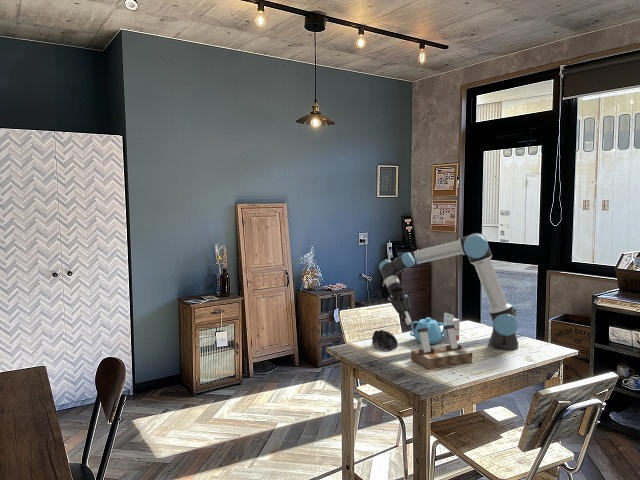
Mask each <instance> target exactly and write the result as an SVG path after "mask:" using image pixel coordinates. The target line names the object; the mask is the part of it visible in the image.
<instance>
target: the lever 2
mask: <svg viewBox="0 0 640 480" xmlns="http://www.w3.org/2000/svg"><path fill="white" fill-rule="evenodd" d="M444 328H445V330H446V334H447V338H446V339H447V343H448V344H447V345H449V346H451V347H452V349H453V348H458V345H457V344H458V340H456V335H455V331H454V328H455V327H454V325H447V326H444Z"/></svg>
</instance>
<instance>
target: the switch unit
mask: <svg viewBox="0 0 640 480" xmlns="http://www.w3.org/2000/svg"><path fill="white" fill-rule="evenodd" d="M457 345H458V348H453V349H452V347H451V346H449V344H447V345H445V346H444V345H443V346H437V347H431V346H430V348H431V352H424V350H422V348H419V349H413V350H411V351H410V357H411V358H410V360H411V362H413V363H415V364H417V365H418V366H420V367H421V368H423V369H425V370H426V371H429V370H435V369H440V368H448V367H455V366H462V365H467V364H473V352H471V351H469V350H467V349H464V348H463V347H462V345H461V344H459V343H457Z"/></svg>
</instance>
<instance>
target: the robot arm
mask: <svg viewBox="0 0 640 480" xmlns="http://www.w3.org/2000/svg"><path fill="white" fill-rule="evenodd" d="M458 255H463V256H467V257H468V258H467V259H468V260H469V263H470V264H471V265H473V266H474V268H475V270H476V273H477V275H478V278H479V280H480V284H481V286H482V288H483V291H484V295H485V297H486V299H487V300H486V301H487V302H488V305H489V307H490V309H489V311H488V313H489V316H490V318H491V321H492V331H491V335H490V338H489V340H488V345H489V346H490V347H491V348H495V349H498V350H504V351H508V350H509V351H510V350H511V351H513V350H517V349H519V341H518V337H517V334H516V333H517V330H518V327H519V321H518V318H517V311H518V310H517V305H514V304H511V303H509V302H508V301H507V299H506V295H505V294H504V291H503V289H502V286H501V283H500V280H499V277H498V275H497V273H496V270H495V268H494V265H493V261H492V257H493V254H492V251H491V248H490V246H489V241H488V240H487V238H486V236H485V235H484V234H482V233H479V232H474V233H471V234H469V235H467V236H463V237H459V239H458V240H455V241H450V242H446V243H442V244H440V245H435V246H430V247H426V248H425V247H424V248H422V249H418V250H414V251H410V252H409V251H408V252H404V253H403V254H402V255H400V256H399V257H397V258H395V259H393V260H390V259H386V260H382V261H381V262H380V263H379V266H378V267H379V271H380V274H381V276H382V277H383V278H382V279H383V280H384V283H385V286H386V288H387V290H388V293H389V296H388V297H387V301H389V302H390V304H391V306H392V307H393V308H394V310H395V312H396V313H397V314H400V315H401V316H402V318H403V319H404V320H405V323H406V325H407V326H411V324H412V322H413V321H412V319H411V314H410V311H411V310H412V307H411V300H410V297H411V295H410V294H406V293H405V291H404V288H403V286H402V283H401V281H400V279H399V277H398V274H400V273H401V272H403V271H406V269H407V270H408V268H411V267H412V266H414V265H419V264H423V263H427V262H432V261H436V260H442V259H445V258H450V257H454V256H458Z"/></svg>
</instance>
